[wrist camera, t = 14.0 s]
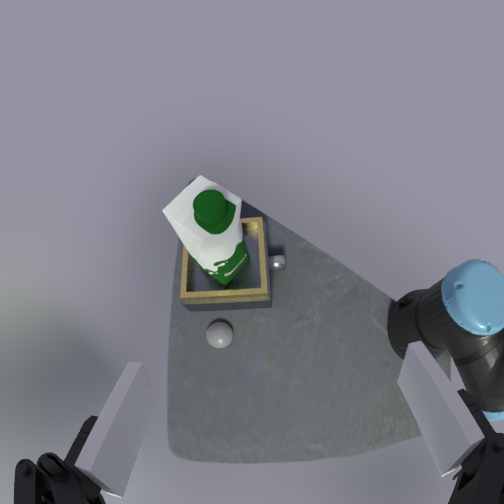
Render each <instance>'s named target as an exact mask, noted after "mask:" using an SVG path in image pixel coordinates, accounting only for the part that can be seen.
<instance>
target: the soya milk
mask: <svg viewBox="0 0 504 504" xmlns="http://www.w3.org/2000/svg"><path fill="white" fill-rule="evenodd" d="M241 203H242V200H241V198H239V197H238V196H236V195H234V194H233V193H231V192H229V191H228V190H226V189H225V188H223V187H221V186H220V185H219V184H217V183H215V182H212V181H210V180H208V179H206V178H205V177H203V176H201V175H200V176H199V177H198V178H196V179H195V180H194V181H193V182H192V183H191V184H190V185H189V186H188V187H187V188H185V189H184V190H183V191H182V192H181V193H180V194H179V195H178V196H177V197H176V198H175V199H174V200H173V201H172V202H171V203H170V204H169V205H168V206H166V207H165V208H164V210H162V211H163V212H164V214H165V215H166V217H167V219H168V220H169V222H170V223H171V225H172V226H173V228H174V229H175V231H176V233H177V234H178V236H179V237H180V239H181V241H182V243H183V244H184V246H185V247H186V249H187V251H188V252H189V254H190V255H191V257H192V258H193V260H194V261H195V263H196V264H197V265H198V266H199V267H201V268H202V269H203V270H204V271H206V272H207V273H208V274H209V275H211V276H212V277H213V278H215V279H216V280H217V281H219V282H220V283H221V284H223V285H224V286H225V287H226V286H227V285H228V284H229V282H230V281H231V280H232V279H233V278H234V277H235V276H236V274H237V273H238V272H239V271H240V270H241V269H242V268H243V266H244V265H245V264H246V263H247V262H248V261H249V260H250V256H249V253H248V249H247V246H246V242H245V239H244V234H243V229H242V225H241V220H240V211H241Z"/></svg>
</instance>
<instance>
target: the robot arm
mask: <svg viewBox="0 0 504 504" xmlns="http://www.w3.org/2000/svg"><path fill="white" fill-rule="evenodd" d="M388 335H389V340H390V343H391V345H392V347H393V349H394V351H395V352H396V353H397V354H398V356H399V357H401V358H402V359H403V360H404V362H403V365H402V368H401V371H400V374H399V377H398V380H397V383H398V385H399V387H400V389H401V391H402V393H403V395H404V397H405V399H406V401H407V403H408V405H409V407H410V409H411V411H412V413H413V415H414V417H415V419H416V421H417V424H418V426H419V428H420V430H421V432H422V434H423V437H424V439H425V441H426V443H427V446H428V448H429V450H430V453H431V455H432V457H433V460H434V462H435V464H436V467H437V469H438V472H439V474H440V476H441V477H442V476H444V475H446V474H448V473H450V472H452V471H454V470H455V469H456V468H457V467H458V466H459V465H460V464H461V466H462V469H461V470H460V471H459V472H458V473H457V474H456V475H455V476H454V477H453V480H455V479H456V478H457V477H458V479H457V482H456V485H455V487H454V490H453V493H452V495H451V498H450V500H449V503H448V504H504V434H502V433H496V432H495V431H494V430H493V428H492V426H491V425H490V423H489V421H497V420H502V419H504V276H503V275H502V273H501V272H500V271H499V270H498V269H497V268H496V267H495V266H494V265H492V264H491V263H489V262H486V261H481V260H479V259H472V260H468V261H466V262H464V263H462V264H461V265H459V266H458V267H455V268H453V269H452V270H450V271H449V272H448V273H447V274H446V276H445V277H444V278H443V279H442V280H440V281H439V282H437V283H436V284H434V285H433V286H432V287H430V288H429V289H421V290H415V291H412V292H410V293H408V294H406V295H405V296H403V297H402V298H401V299H400V300H398V301H397V303H396V304H395V305H394V307H393V308H392V310H391V313H390V316H389V320H388ZM446 349H448V350H449V352H450V354H451V357H452V358H453V360H454V362H455V365H456V367H457V369H458V371H459V373H460V376H461V378H462V380H463V383H464V385H465V388H466V390H467V391H466V390H464V389H461V390H459V391H456V389H455V388H454V387H453V385H452V383H451V382H450V380H449V379H448V378H447V376H446V375H445V373H444V372H443V370H442V369H441V367H440V366H439V365H438V363H437V362H436V360H435V359H436V358H438V357H439V356H440V355H441V354H442V353H443V352H444V351H445V350H446ZM157 399H158V398H157V396H156V394H155V392H154V390H153V388H152V385H151V383H150V381H149V378H148V376H147V374H146V371H145V369H144V366H143V364H142V363H138V362H129V363H128V364H127V366H126V368H125V370H124V372H123V373H122V375H121V377H120V378H119V380H118V382H117V384H116V386H115V387H114V389H113V391H112V393H111V395H110V397H109V398H108V400H107V402H106V404H105V406H104V408H103V409H102V411H101V413H100V415H99V417H97V416H91V417H90V418H88V419H87V420H86V421H85V422H84V424H83V426H82V428H81V430H80V432H79V433H78V435H77V438H76V439H75V441H74V442H73V444H72V446H71V448H70V450H69V452H68V454H67V456H66V458H65V460H64V461H62V460H61V459H60V458H59V457H58V456H57V455H56V454H53V453H45V454H43V455H41V457H40V458H39V459H38V461H37V465H35V464H34V463H33V462H32V461H31V460H29V459H22V460H20V461H19V462H18V463H17V465H16V469H15V483H14V504H106V503H105V501H104V499H103V497H102V495H101V494H100V491H101V489H103V490H104V491H105V492H106V493H108V494H110V495H113V496H117V497H120V498H123V495H124V492H125V489H126V486H127V483H128V480H129V477H130V474H131V471H132V468H133V465H134V462H135V460H136V457H137V454H138V451H139V448H140V445H141V443H142V440H143V437H144V434H145V431H146V429H147V426H148V423H149V420H150V418H151V415H152V413H153V410H154V407H155V405H156V402H157ZM42 496H43V499H42Z"/></svg>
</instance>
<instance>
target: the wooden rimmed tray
mask: <svg viewBox="0 0 504 504" xmlns="http://www.w3.org/2000/svg"><path fill="white" fill-rule="evenodd" d="M240 220H241V225H242V229H243V234H244V239H245V242H246V246H247V249H248V253H249V256H250V260H249V261H248V262H247V263H246V264H245V265H244V266H243V268H242V269H241V270H240V271H239V272H238V273H237V274H236V276H235V277H234V278H233V279H232V280H231V281H230V282H229V284H228V285H227V286H226V287H225V286H224V285H223V284H221V283H220V282H219V281H217V280H216V279H215V278H213V277H212V276H211V275H209V274H208V273H207V272H206V271H204V270H203V269H202V268H201V267H199V266H198V265H197V264H196V263H195V261H194V260H193V258H192V257H191V255H190V254H189V252H188V251H187V249H186V247H185V246H184V248H183V261H182V277H181V296H180V298H181V299H182V305H183V306H184V307H186V308H187V309H188V310H189V311H214V310H235V309H253V308H268V307H272V306H271V291H270V277H269V271H281V270H285V257H284V255H273V256H268V250H267V237H266V224H265V222H263V219H262V217H254V218H242V219H240Z"/></svg>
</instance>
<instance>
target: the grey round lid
mask: <svg viewBox="0 0 504 504" xmlns="http://www.w3.org/2000/svg"><path fill="white" fill-rule="evenodd" d="M206 338H207V341H208V342H209V344H210V345H212V346H213V347H215V348H225V347H227V346H228V345H229V344H230V343H231V342H232V339H233V331H232V329H231V328H230V326H229V325H227V324H226V323H224V322H215V323H213V324H211V325H210V326H209V328H208V329H207V332H206Z"/></svg>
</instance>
